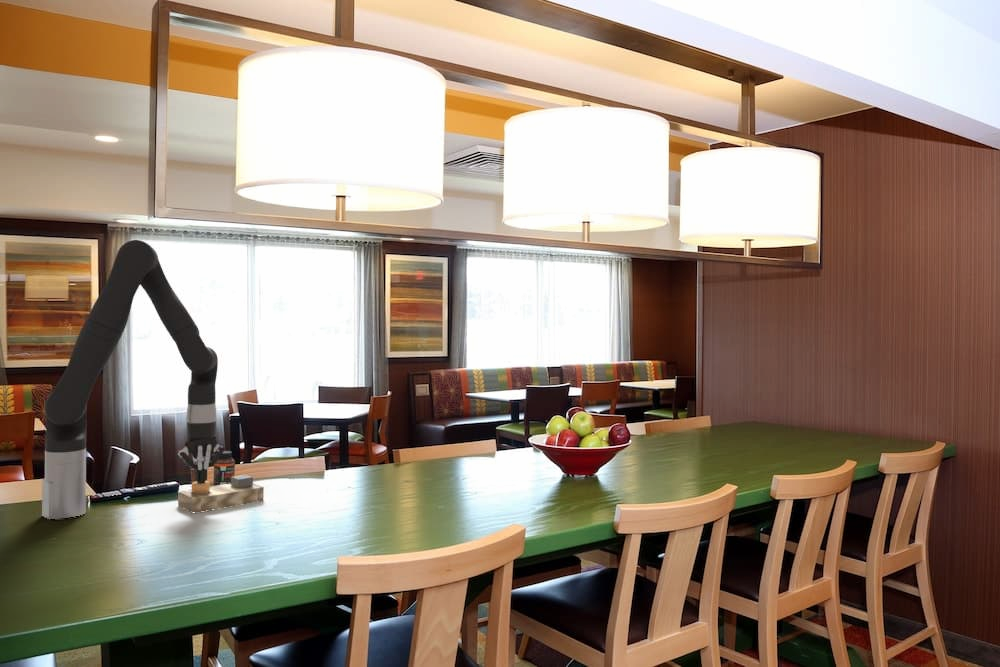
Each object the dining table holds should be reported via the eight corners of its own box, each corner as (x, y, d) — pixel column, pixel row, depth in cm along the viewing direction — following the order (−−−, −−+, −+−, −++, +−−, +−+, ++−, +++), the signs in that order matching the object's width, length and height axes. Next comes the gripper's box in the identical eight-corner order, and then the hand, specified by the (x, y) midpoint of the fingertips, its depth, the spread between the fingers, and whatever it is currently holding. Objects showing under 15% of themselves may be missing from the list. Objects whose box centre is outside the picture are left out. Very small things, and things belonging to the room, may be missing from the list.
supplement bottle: (227, 492, 221) (227, 454, 220) (209, 490, 222) (209, 453, 221) (238, 487, 226) (238, 450, 226) (220, 486, 228) (221, 449, 227)
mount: (194, 513, 197) (194, 498, 197) (178, 506, 204) (178, 491, 204) (263, 500, 212) (263, 486, 212) (246, 494, 219) (246, 480, 218)
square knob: (238, 502, 209) (238, 479, 209) (230, 498, 212) (231, 476, 212) (252, 499, 212) (253, 477, 212) (245, 496, 215) (245, 474, 215)
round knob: (195, 509, 200) (196, 485, 200) (188, 505, 204) (188, 482, 203) (212, 506, 204) (212, 483, 203) (204, 502, 207) (205, 480, 207)
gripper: (183, 424, 195) (182, 489, 196) (231, 419, 205) (230, 481, 206) (171, 420, 201) (170, 484, 201) (218, 416, 210) (218, 476, 211)
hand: (201, 482), depth 203 cm, fingers closed
